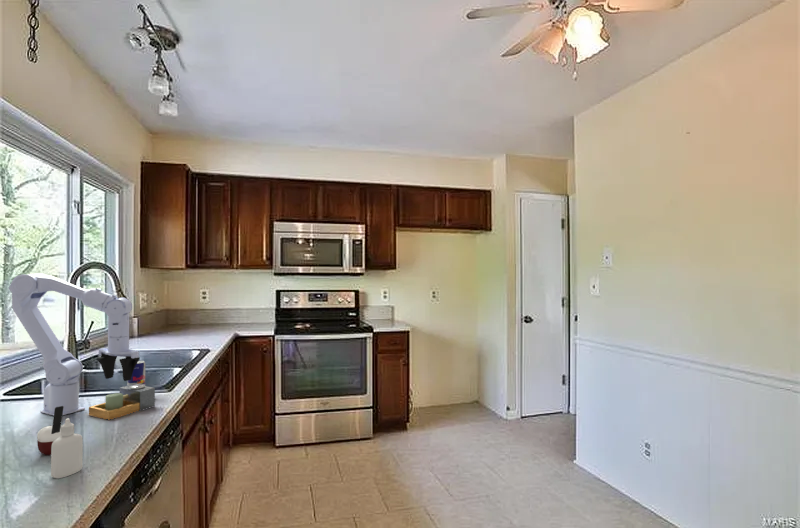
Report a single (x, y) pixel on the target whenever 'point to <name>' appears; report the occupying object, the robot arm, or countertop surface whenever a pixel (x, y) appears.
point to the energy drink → (138, 374)
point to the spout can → (114, 401)
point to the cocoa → (50, 433)
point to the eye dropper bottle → (66, 452)
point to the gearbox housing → (127, 402)
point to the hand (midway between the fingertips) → (118, 379)
